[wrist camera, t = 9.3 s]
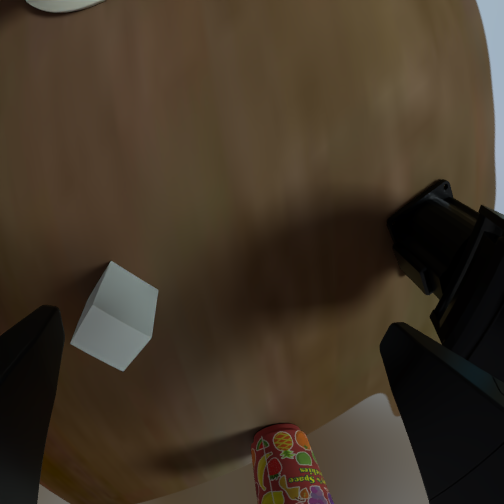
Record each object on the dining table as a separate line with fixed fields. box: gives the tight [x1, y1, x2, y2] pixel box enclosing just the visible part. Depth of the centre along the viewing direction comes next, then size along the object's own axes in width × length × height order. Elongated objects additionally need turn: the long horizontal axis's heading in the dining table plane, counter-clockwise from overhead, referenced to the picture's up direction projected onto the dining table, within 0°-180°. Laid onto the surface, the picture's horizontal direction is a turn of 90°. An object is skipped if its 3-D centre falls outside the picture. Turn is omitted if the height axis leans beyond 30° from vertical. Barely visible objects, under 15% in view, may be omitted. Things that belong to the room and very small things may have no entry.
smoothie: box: [251, 424, 334, 504], centre depth 25 cm, size 8×8×20 cm
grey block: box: [70, 261, 158, 371], centre depth 19 cm, size 4×4×5 cm
